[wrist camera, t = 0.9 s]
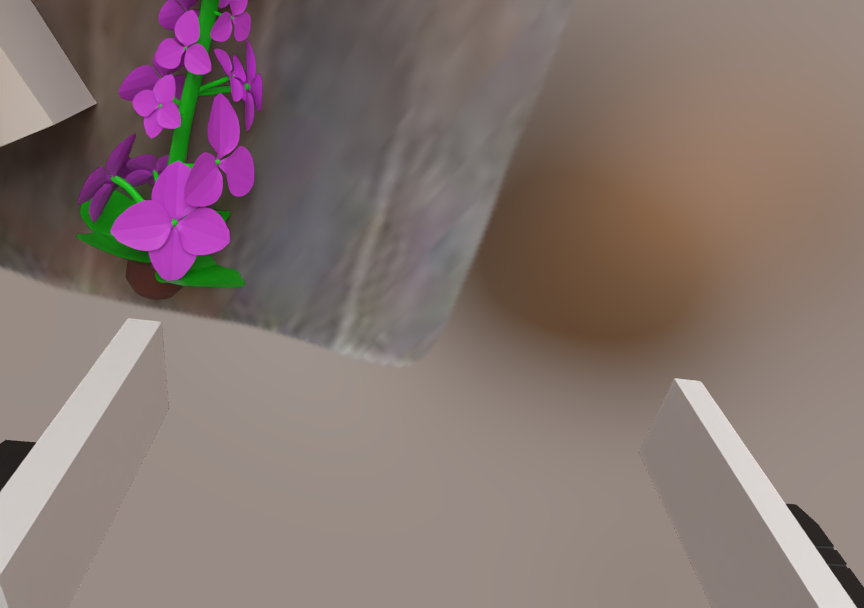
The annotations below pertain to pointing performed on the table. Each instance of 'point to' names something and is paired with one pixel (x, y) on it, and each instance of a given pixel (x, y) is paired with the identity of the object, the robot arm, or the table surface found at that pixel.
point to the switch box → (34, 75)
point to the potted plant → (177, 158)
